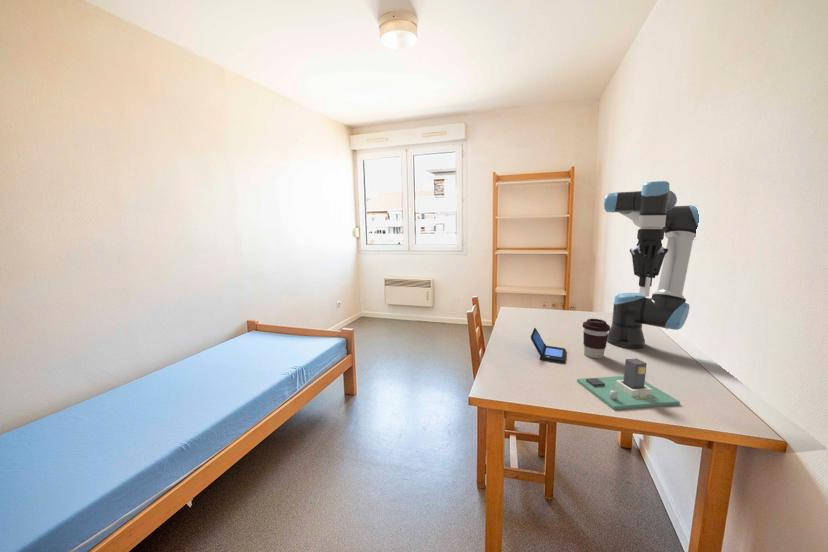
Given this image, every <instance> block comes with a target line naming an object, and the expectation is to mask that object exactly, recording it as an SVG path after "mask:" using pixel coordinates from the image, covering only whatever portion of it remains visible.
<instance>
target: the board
mask: <svg viewBox="0 0 828 552" xmlns="http://www.w3.org/2000/svg"><path fill="white" fill-rule="evenodd" d="M616 380H624V375H621V376H620V375H617V376H602V377H601V376H599V377H586V378H577V379H576V382H577V383H578V384H580V385H581V386H582V387H584V388H585V389H586V390H587V391H589V392H590V393H591V394H592V395H594V396H595V397H597V399H599V400H600V401H602V402H603V403H604V404H606V406H608V407H609V408H611V410H624V409H626V410H627V409H637V407H639V408H649V407H650V406H653V407H664V406H665V405H666V406H679V405H680V404H681V403H680V402H681V401H680V400H678V399H676V398H675V397H673V396H671V395H670V394H667V393H666V392H664V391H663V390H661V389H659V388H658V387H656V386H654V385H653V384H651V383H648V382H647V381H645V383H644V385H646V386H648V387H649V388H651V389H652V395H647V396H644V397H639V396H633V397H631V396H630V395H628V394H627V393H625V392H624V391H622V390H621V389H619V388H618V387H616V386H615V385H616ZM666 406H665V407H666ZM650 408H651V407H650Z"/></svg>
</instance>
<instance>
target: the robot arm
mask: <svg viewBox="0 0 828 552" xmlns="http://www.w3.org/2000/svg"><path fill="white" fill-rule="evenodd" d="M677 202H678V197H677V194H676V193H675V192H674V191H671V189H670V182H669V181H665V180H660V181H659V180H656V181H647V182H645V183H643V184H642V188H641V190H639V191H638V190H637V191H622V192H621V191H619V192H618V191H616V192H609V193H608V194H606V196H605V197H604V201H603V209H604V211H605V212H607V213H618V214H620V215H622V216H625V217H626V218H628V219H629V220H631V221H632V223H633V225H635V226H636V227H638V229H637V234H636V235H637V237H636V238H637V241H638V242H637V243H636V246H634V248H629V253H630V254H631V259H632V268H633V275H634V276H637V277H638V279H639V280H638V286H639V292H621V293H618V294H616V295H614V301H613V304H612V305H613V308H612V309H613V310H612V317H611V318H612V320H611V324H610V330H609V331H608V337H607V343H609V344H611V345H614V346H616V347H621V348H627V349H641V348H642V349H643V348H644V347H645V346H646V340H645V336H644V332H643V325H647V326H650V327H651V326H652V327H658V328H662V329H663V328H664V329H665V330H675V331H676V330H677V331H679V330H680V329H682V328H683V326H684V325H685V323H686V321H687V319H688V315H689V311H690V307H691V306H690V304H689V303H687V302H686V301H687V298H686V297H684V295H683V294H684V293H683V292H684V289H685V288H684V287H685V282H686V277H687V273H688V269H689V268H688V267H689V262H690V257H691V251H692V247H693V243H694V241H695V240H694V238H695V237H696V229H697V227H698V223H699V214H698V210H697V208H696V207H695V206H696V205H677ZM664 237H665V238H667V243H666V247H663V243H662V241H663V240H664V239H665V238H664ZM693 240H694V241H693ZM659 275H660V277H659V280H658V281H659V283H658V286H657V291H655V292H653V293H652V295H651V297H650V291H651V287H652V285H653V279H655V278H656V276H659Z"/></svg>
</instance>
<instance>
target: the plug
mask: <svg viewBox="0 0 828 552" xmlns="http://www.w3.org/2000/svg"><path fill="white" fill-rule="evenodd" d="M646 371H647V362H645V361H644V360H643V361H642V360H641V359H639V358H625V362H624V371H623V372H624V373H623V376H624V380H623V384H625V385H626V386H628V387H630V388H631V389H643V388H644V383H645V382H646Z"/></svg>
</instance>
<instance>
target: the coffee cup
mask: <svg viewBox="0 0 828 552" xmlns="http://www.w3.org/2000/svg"><path fill="white" fill-rule="evenodd" d="M582 328H583V341H582V342H583V353H584V355H585V356H586V357H588V358H592V359H602V358H604V355H605V350H606V348H607V343H608V342H607V337H608V332H609V330H610V328H611V325H610V324H607V321H605V320H603V319H599V318H588V319H587V320H586V321H583V322H582Z"/></svg>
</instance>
